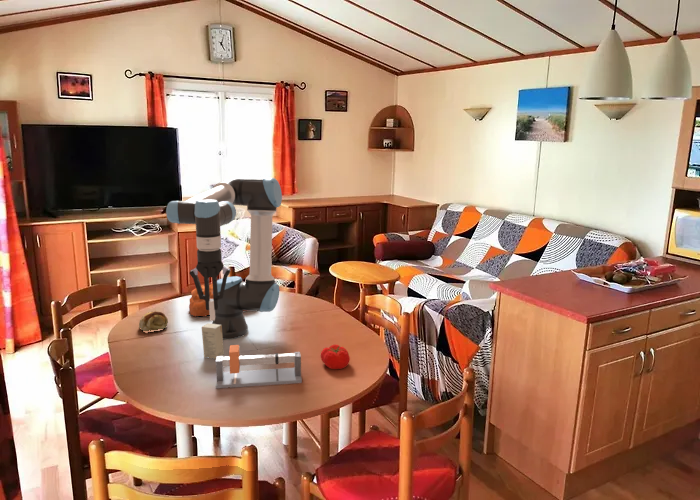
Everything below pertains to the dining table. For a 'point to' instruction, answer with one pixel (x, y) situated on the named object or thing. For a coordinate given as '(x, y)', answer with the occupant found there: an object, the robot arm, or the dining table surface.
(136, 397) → the dining table surface
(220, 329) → the skincare box
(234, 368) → the collar
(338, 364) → the tomato
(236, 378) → the board
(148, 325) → the pastry
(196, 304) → the bread
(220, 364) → the rail
